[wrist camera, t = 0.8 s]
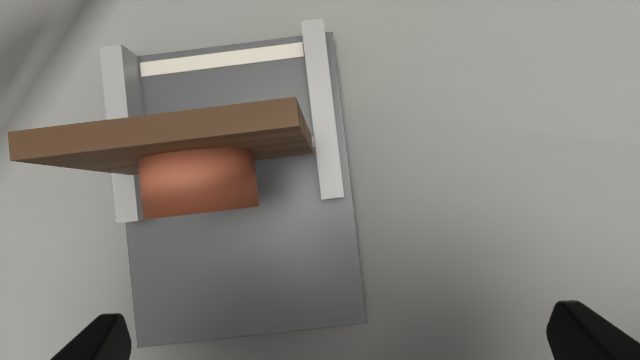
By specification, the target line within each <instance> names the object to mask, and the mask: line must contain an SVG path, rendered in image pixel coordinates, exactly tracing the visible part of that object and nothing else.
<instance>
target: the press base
mask: <svg viewBox="0 0 640 360" xmlns="http://www.w3.org/2000/svg"><path fill="white" fill-rule="evenodd" d="M301 26H302V35H303V36H296V37H288V38H280V39H272V40H264V41H256V42H248V43H241V44H233V45H225V46H217V47H209V48H201V49H193V50H186V51H178V52H170V53H162V54H154V55H146V56H137V55H135V54H134V53H132V52H131V51H130V50H128V49H127V48H125V47H124V46H123V45H121V44H120V45H112V46H104V47H99V49H100V59H101V70H102V80H103V91H104V101H105V112H106V120H110V119H118V118H126V117H134V116H142V115H150V114H158V113H167V112H175V111H183V110H191V109H199V108H207V107H215V106H224V105H232V104H240V103H248V102H256V101H264V100H272V99H280V98H289V97H296V98H297V101H298V103H299V106H300V108H301V111H302V113H303V116H304V118H305V121H306V123H307V126H308V128H309V131H310V133H311V137H312V145H313V154H305V155H297V156H288V157H280V158H271V159H263V160H255V169H256V179H257V188H258V197H259V206H258V207H250V208H242V209H233V210H225V211H216V212H207V213H199V214H190V215H181V216H172V217H163V218H154V219H144V220H143V212H142V202H141V192H140V181H139V174H137V175H125V174H117V173H111V175H112V186H113V197H114V207H115V218H116V223H124V222H126V232H127V243H128V253H129V264H130V274H131V284H132V295H133V305H134V316H135V326H136V337H137V347H138V348H139V347H148V346H158V345H167V344H176V343H186V342H195V341H204V340H214V339H223V338H233V337H242V336H251V335H261V334H270V333H279V332H289V331H298V330H307V329H317V328H326V327H336V326H345V325H354V324H364V323H367V318H366V310H365V302H364V293H363V285H362V276H361V268H360V259H359V251H358V243H357V234H356V226H355V217H354V209H353V200H352V192H351V183H350V175H349V167H348V158H347V150H346V141H345V133H344V124H343V116H342V108H341V99H340V91H339V82H338V74H337V65H336V57H335V49H334V40H333V32H327V33H325V30H324V21H323V19H315V20H307V21H301Z"/></svg>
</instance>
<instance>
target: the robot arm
mask: <svg viewBox="0 0 640 360" xmlns="http://www.w3.org/2000/svg"><path fill="white" fill-rule="evenodd" d="M546 334H547V339H548V342H549V345H550V348H551V351H552V354H553V357H554V359H555V360H640V343H639V342H637V341H636V340H634V339H633V338H631V337H630V336H629V335H627V334H626V333H624V332H623V331H621V330H620V329H618V328H617V327H616V326H614V325H613V324H611V323H610V322H608V321H607V320H606V319H604V318H603V317H601V316H600V315H598V314H597V313H596V312H594V311H593V310H591V309H590V308H588V307H587V306H586V305H584V304H583V303H581V302H579V301H575V300H570V301H558V302H557V303H556V304H555V306H554V309H553V312H552V314H551V317H550V320H549V322H548V325H547V330H546ZM130 354H131V338H130V335H129V332H128V329H127V325H126V322H125V319H124V317H123V315H122V314H119V313H113V314H101V315H99V316H98V317H97V318H96V319H94V320H93V321H92V322H91V323H90V324H89V325H88V326H87V327H86V328H85V329H83V330H82V331H81V332H80V333H79V334H78V335H77V336H76V337H75V338H74V339H72V340H71V341H70V342H69V343H68V344H67V345H66V346H65V347H64V348H63V349H61V350H60V351H59V352H58V353H57V354H56V355H55V356H54V357H53V358H52V359H50V360H129V358H130Z"/></svg>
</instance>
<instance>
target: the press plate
mask: <svg viewBox="0 0 640 360" xmlns="http://www.w3.org/2000/svg"><path fill="white" fill-rule="evenodd" d="M8 139H9V151H10V161H16V162H25V163H33V164H41V165H50V166H58V167H66V168H75V169H83V170H92V171H100V172H108V173H117V174H125V175H137V174H139V181H140V192H141V202H142V212H143V220H144V219H154V218H163V217H172V216H181V215H190V214H199V213H207V212H216V211H225V210H233V209H242V208H250V207H258V206H259V197H258V188H257V179H256V169H255V160H263V159H271V158H280V157H288V156H297V155H305V154H313V145H312V137H311V133H310V131H309V128H308V126H307V123H306V121H305V118H304V116H303V113H302V111H301V108H300V106H299V103H298V101H297V98H296V97H289V98H280V99H272V100H264V101H256V102H248V103H240V104H232V105H224V106H215V107H207V108H199V109H191V110H183V111H175V112H167V113H158V114H150V115H142V116H134V117H126V118H118V119H110V120H102V121H93V122H85V123H77V124H69V125H61V126H53V127H45V128H37V129H28V130H20V131H12V132H8Z"/></svg>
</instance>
